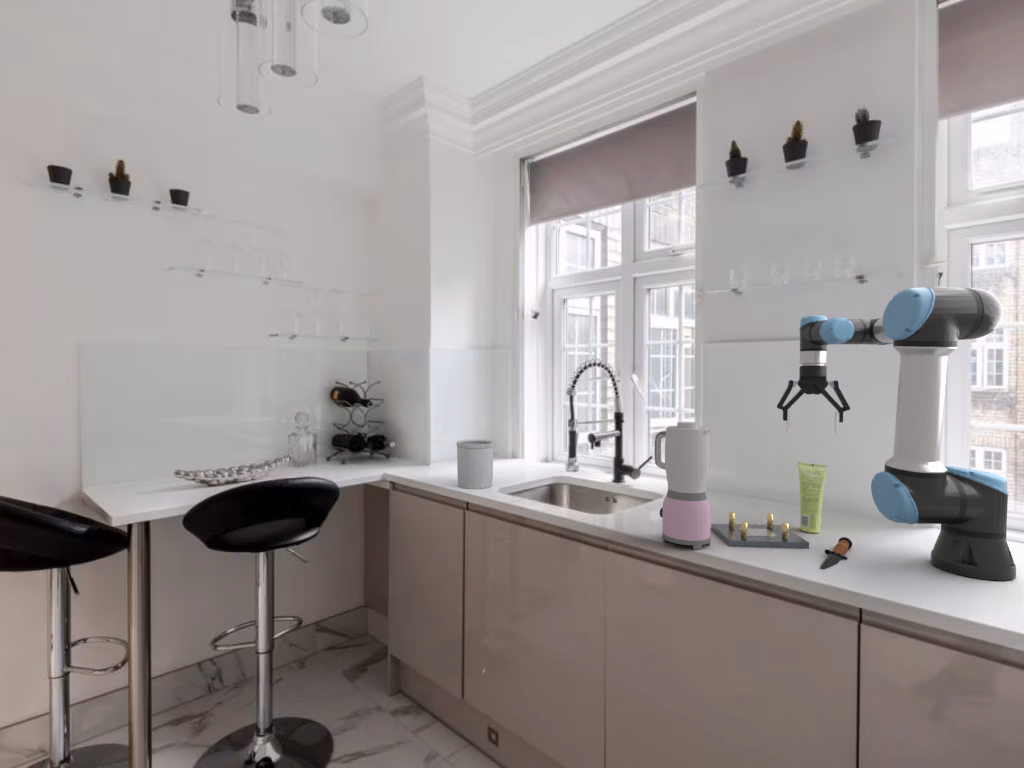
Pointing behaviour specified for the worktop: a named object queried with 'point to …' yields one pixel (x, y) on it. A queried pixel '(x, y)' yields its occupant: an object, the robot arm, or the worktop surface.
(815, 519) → the tube
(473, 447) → the utensil holder
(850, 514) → the worktop surface
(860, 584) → the worktop surface
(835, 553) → the knife
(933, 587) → the worktop surface
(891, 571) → the worktop surface
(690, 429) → the blender
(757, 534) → the plate
